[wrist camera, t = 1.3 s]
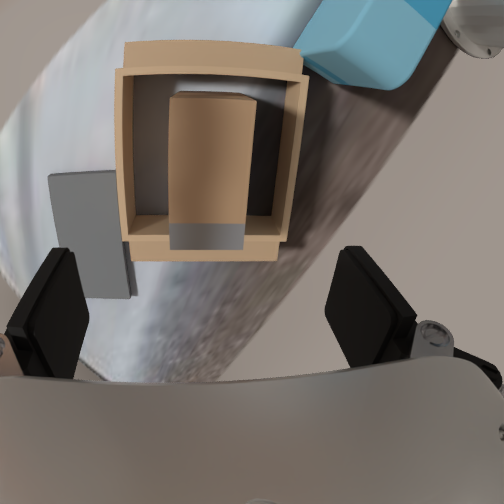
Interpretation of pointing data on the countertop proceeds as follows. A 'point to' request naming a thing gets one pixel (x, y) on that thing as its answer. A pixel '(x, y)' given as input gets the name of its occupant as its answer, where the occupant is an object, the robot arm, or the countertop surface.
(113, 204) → the mat
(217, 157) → the walnut box
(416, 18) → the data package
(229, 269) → the countertop surface
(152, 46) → the carton
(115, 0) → the countertop surface
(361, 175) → the countertop surface
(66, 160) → the countertop surface
